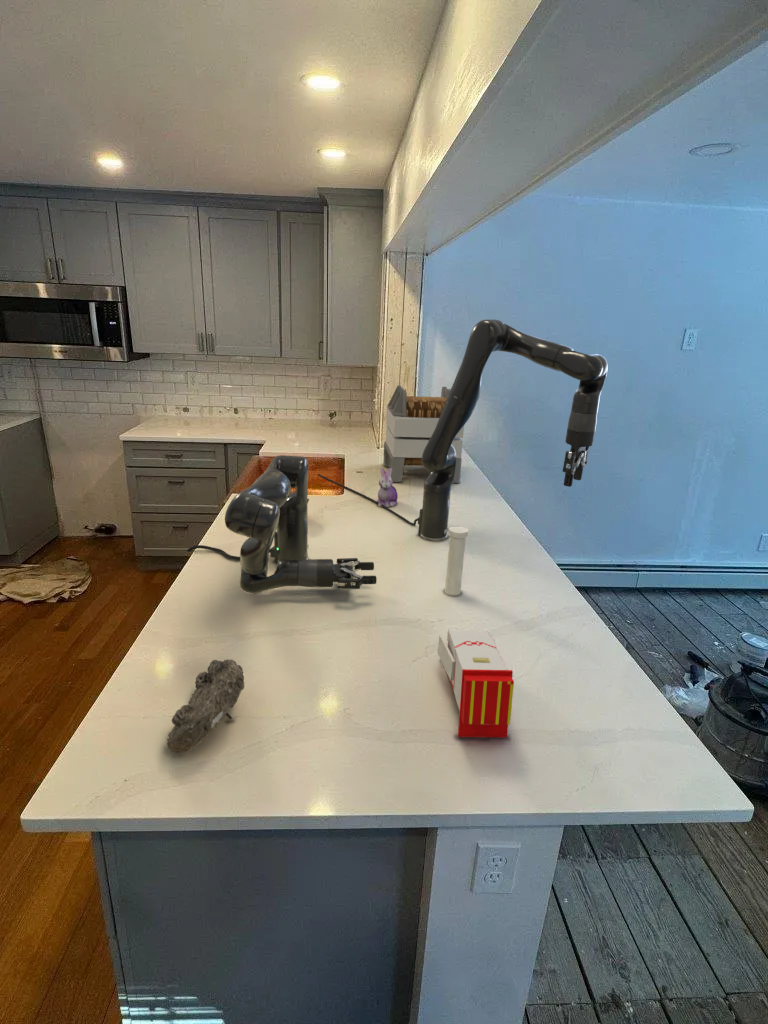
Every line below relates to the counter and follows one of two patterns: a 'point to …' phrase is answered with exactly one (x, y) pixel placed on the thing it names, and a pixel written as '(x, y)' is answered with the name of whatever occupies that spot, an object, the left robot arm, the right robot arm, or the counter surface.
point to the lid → (458, 532)
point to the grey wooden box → (414, 431)
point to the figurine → (386, 489)
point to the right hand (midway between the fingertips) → (572, 482)
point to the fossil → (206, 705)
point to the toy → (478, 682)
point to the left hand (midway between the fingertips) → (375, 572)
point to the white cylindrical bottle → (455, 566)
